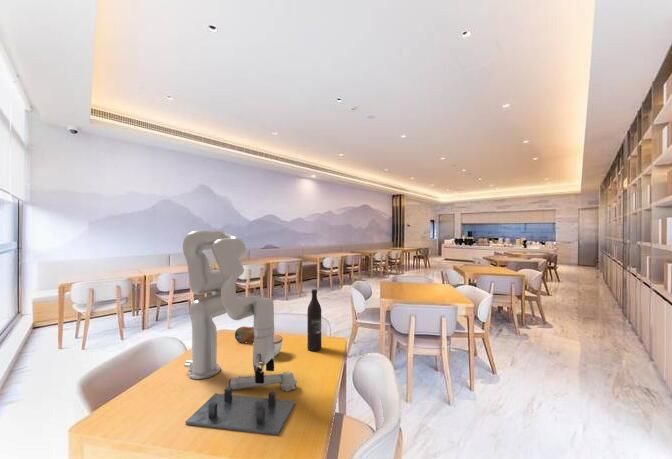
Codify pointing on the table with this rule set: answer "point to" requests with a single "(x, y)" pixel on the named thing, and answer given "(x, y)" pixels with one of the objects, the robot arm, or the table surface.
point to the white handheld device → (265, 381)
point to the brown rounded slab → (245, 334)
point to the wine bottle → (314, 323)
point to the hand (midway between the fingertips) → (265, 376)
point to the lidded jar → (277, 344)
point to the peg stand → (243, 413)
